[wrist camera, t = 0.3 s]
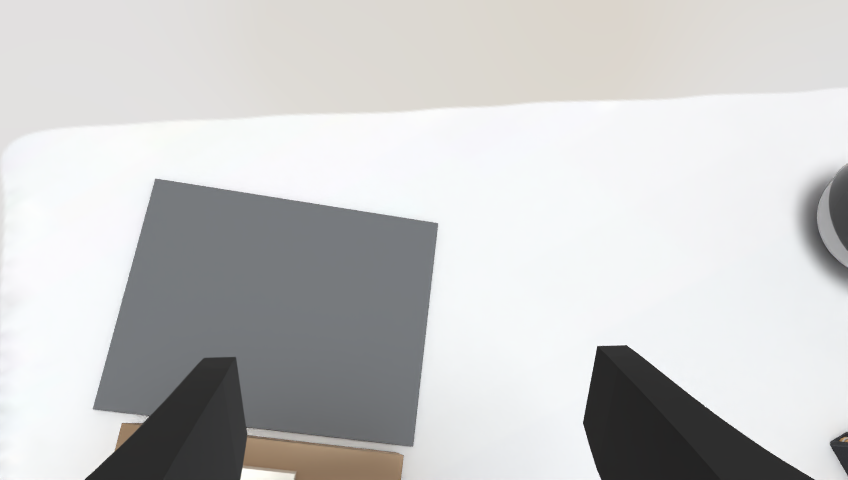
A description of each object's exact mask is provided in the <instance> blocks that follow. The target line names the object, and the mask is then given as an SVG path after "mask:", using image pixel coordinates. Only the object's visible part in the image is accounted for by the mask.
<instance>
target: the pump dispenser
mask: <svg viewBox="0 0 848 480" xmlns="http://www.w3.org/2000/svg"><path fill="white" fill-rule="evenodd" d="M817 223H818V229H819V233H820V235H821V238H822V240H823V242H824V244H825V246H826V247H827V249H828V250H829V251H830V253H831V254H832V255H833V256H834V257H835V258H836V259H837V260H838V261H839V262H840V263H842V264H843V265H844V266H846V267H847V268H848V163H847V164H846V165H844V166H843V167H842V168H841V169H840V170H839V171H838V173H837V174H836V176H835V177H834V179H833V180H832V181H831V182H830V183H829V185H828V186H827V187H826V189H825V191H824V192H823V194H822V196H821V198H820V201H819V205H818V210H817Z"/></svg>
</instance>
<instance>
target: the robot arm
mask: <svg viewBox="0 0 848 480" xmlns="http://www.w3.org/2000/svg"><path fill="white" fill-rule="evenodd" d="M583 424H584V428H585V431H586V435H587V438H588V442H589V445H590V449H591V452H592V455H593V458H594V462H595V465H596V468H597V471H598V473H599V475H600V478H601V480H814V479H813V478H811V477H809V476H808V475H806V474H804V473H803V472H801V471H799V470H798V469H796V468H794V467H793V466H791V465H789V464H788V463H786V462H785V461H783V460H781V459H780V458H778V457H776V456H775V455H773V454H772V453H770V452H769V451H767V450H766V449H764V448H763V447H761V446H760V445H758V444H757V443H755V442H754V441H752V440H751V439H750V438H748V437H747V436H745V435H744V434H742V433H741V432H739V431H738V430H737V429H735V428H734V427H732V426H731V425H729V424H728V423H727V422H725V421H724V420H723V419H721V418H720V417H718V416H717V415H716V414H714V413H713V412H712V411H710V410H709V409H708V408H706V407H705V406H704V405H702V404H701V403H700V402H699V401H697V400H696V399H695V398H693V397H692V396H691V395H689V394H688V393H687V392H686V391H684V390H683V389H682V388H681V387H679V386H678V385H677V384H675V383H674V382H673V381H672V380H670V379H669V378H668V377H667V376H665V375H664V374H663V373H662V372H660V371H659V370H658V369H657V368H655V367H654V366H653V365H652V364H650V363H649V362H648V361H647V360H645V359H644V358H643V357H641V356H640V355H639V354H638V353H636V352H635V351H634V350H632V349H631V348H629V347H628V346H627V345H623V346H597V351H596V356H595V362H594V367H593V372H592V378H591V383H590V388H589V394H588V399H587V405H586V410H585V415H584V421H583ZM246 442H247V430H246V423H245V416H244V409H243V402H242V395H241V388H240V381H239V374H238V367H237V360H236V357H212V358H203V359H202V360H201V361H200V362H199V363H198V364H197V365H196V366H195V367H194V368H193V370H192V371H191V372H190V373H189V374H188V375H187V376H186V377H185V378H184V380H183V381H182V382H181V383H180V384H179V385H178V386H177V387H176V388H175V390H174V391H173V392H172V393H171V394H170V395H169V396H168V397H167V398H166V399H165V401H164V402H163V403H162V404H161V405H160V406H159V407H158V408H157V409H156V410H155V411H154V412H153V413H152V414H151V415H150V416H149V418H148V419H147V420H146V421H145V422H144V423H143V424H142V425H141V426H140V427H139V428H138V429H137V430H136V431H135V432H134V433H133V434H132V435H131V436H130V437H129V438H128V439H127V440H126V441H125V442H124V443H123V444H122V445H121V446H120V447H119V448H118V449H117V450H116V451H115V452H114V453H113V454H111V455H110V456H109V457H108V458H107V459H106V460H105V461H104V462H103V463H102V464H101V465H100V466H99V467H98V468H97V469H96V470H95V471H94V472H92V473H91V474H90V475H89V476H88V477H87V478H86V479H85V480H240V479H241V473H242V467H243V461H244V455H245V448H246Z"/></svg>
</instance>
